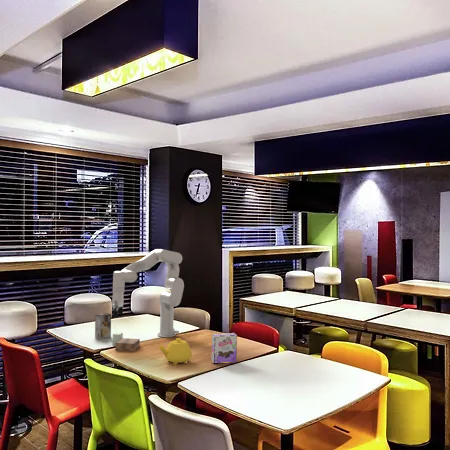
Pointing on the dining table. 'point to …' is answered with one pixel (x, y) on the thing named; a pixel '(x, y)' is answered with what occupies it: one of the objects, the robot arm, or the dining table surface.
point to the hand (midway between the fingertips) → (117, 315)
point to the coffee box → (102, 325)
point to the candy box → (224, 347)
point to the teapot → (177, 351)
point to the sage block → (117, 337)
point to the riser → (127, 344)
